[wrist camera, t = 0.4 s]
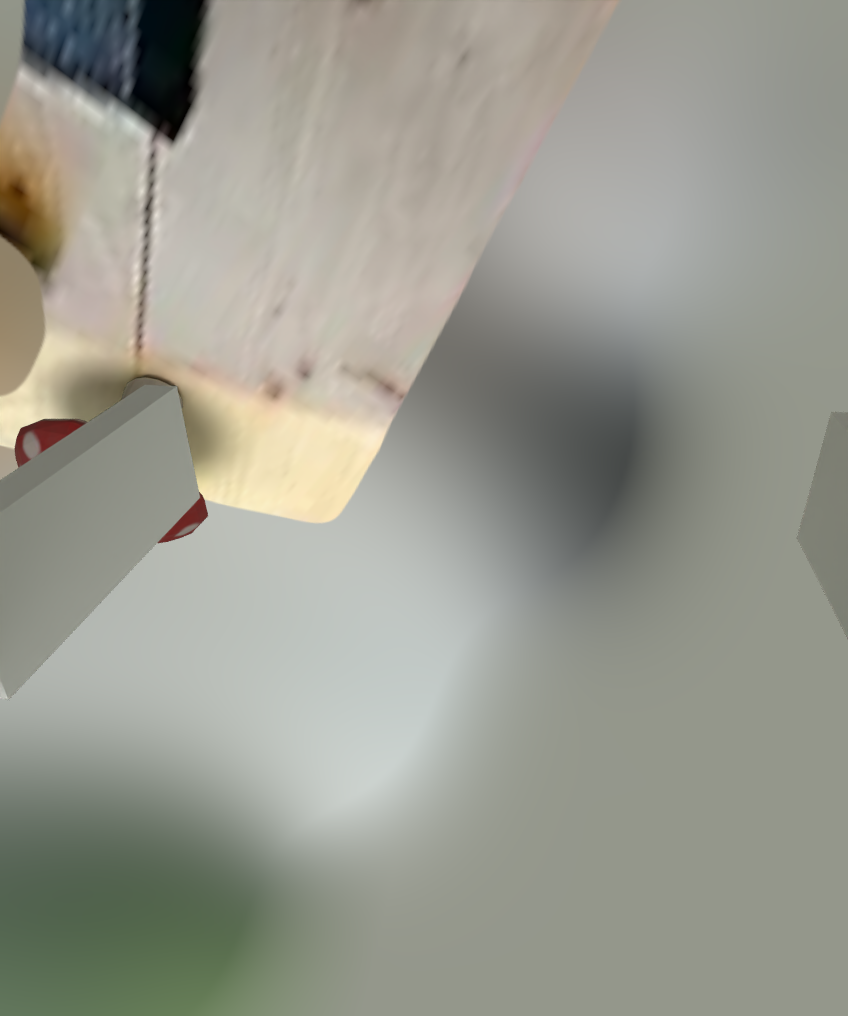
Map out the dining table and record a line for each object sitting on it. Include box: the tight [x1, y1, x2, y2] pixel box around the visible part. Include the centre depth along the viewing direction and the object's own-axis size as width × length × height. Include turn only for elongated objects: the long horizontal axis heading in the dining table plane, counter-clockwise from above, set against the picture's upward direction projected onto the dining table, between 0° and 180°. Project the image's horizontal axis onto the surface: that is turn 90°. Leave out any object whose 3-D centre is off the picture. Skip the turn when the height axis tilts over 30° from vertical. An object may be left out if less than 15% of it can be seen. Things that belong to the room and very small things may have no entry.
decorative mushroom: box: [15, 377, 208, 543], centre depth 60 cm, size 16×16×15 cm
